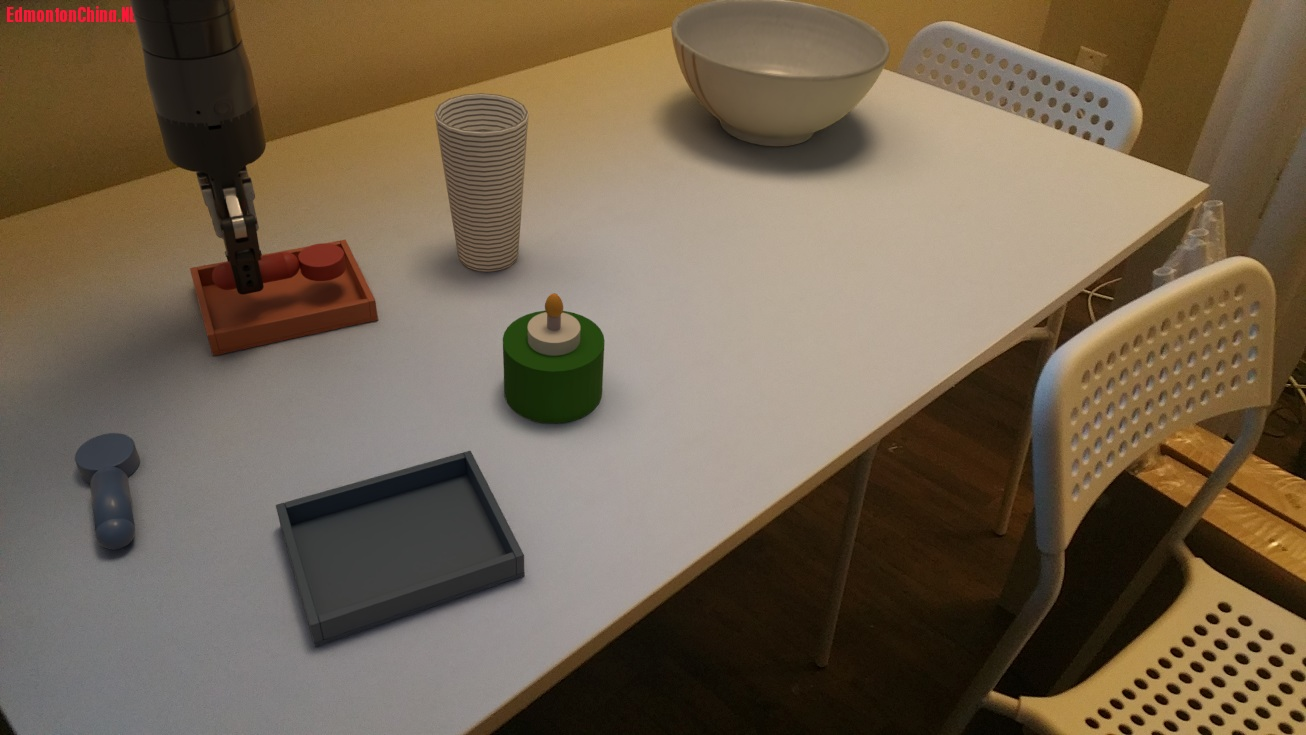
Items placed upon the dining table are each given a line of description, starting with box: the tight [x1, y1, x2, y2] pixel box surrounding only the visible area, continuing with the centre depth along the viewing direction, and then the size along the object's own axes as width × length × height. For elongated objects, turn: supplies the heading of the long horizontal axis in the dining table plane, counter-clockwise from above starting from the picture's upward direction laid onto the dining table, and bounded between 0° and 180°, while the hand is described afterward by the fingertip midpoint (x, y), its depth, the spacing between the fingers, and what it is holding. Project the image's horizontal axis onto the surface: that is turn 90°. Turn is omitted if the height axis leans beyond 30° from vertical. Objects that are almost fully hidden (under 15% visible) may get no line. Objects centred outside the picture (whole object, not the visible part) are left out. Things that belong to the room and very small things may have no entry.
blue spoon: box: [74, 432, 141, 550], centre depth 70 cm, size 11×4×2 cm, turn 27°
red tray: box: [189, 239, 379, 357], centre depth 90 cm, size 14×11×2 cm
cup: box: [433, 92, 530, 273], centre depth 95 cm, size 8×8×16 cm
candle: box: [502, 292, 605, 425], centre depth 81 cm, size 8×8×10 cm
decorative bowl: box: [670, 0, 891, 147], centre depth 124 cm, size 27×27×12 cm
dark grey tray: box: [275, 450, 526, 647], centre depth 69 cm, size 14×11×2 cm
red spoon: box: [212, 242, 346, 290], centre depth 89 cm, size 11×4×2 cm, turn 117°
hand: (247, 281), depth 88 cm, fingers closed on red spoon, 2 cm apart
